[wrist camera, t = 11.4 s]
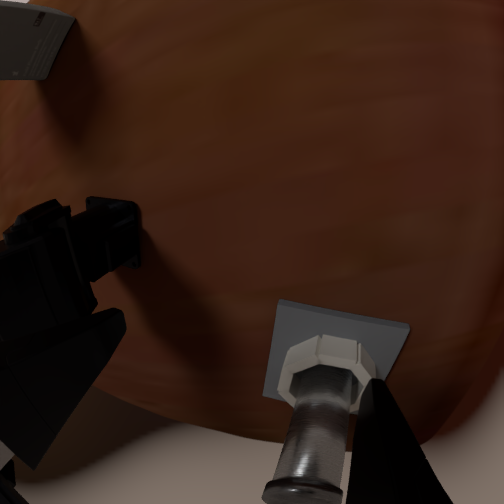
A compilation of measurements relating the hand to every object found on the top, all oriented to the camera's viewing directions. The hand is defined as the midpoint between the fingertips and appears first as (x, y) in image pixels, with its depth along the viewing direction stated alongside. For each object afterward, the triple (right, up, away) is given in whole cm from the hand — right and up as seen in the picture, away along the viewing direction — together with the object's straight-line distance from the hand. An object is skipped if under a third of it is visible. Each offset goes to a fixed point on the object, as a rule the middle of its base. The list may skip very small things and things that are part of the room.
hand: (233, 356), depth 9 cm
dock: (+8, -7, +15) cm, 18 cm away
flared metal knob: (+7, -7, +15) cm, 18 cm away
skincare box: (-22, +28, +10) cm, 37 cm away
